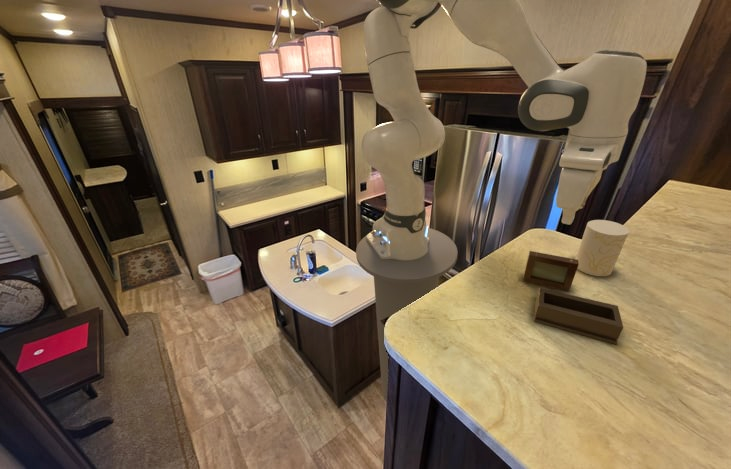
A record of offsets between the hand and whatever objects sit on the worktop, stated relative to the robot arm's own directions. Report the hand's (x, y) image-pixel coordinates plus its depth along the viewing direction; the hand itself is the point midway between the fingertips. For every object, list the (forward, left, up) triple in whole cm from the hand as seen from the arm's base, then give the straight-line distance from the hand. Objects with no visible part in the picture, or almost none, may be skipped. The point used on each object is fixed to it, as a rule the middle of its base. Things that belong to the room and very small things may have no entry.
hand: (572, 214), depth 62 cm
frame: (-1, 0, -20) cm, 20 cm away
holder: (+9, -7, -20) cm, 23 cm away
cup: (+2, +16, -20) cm, 25 cm away
